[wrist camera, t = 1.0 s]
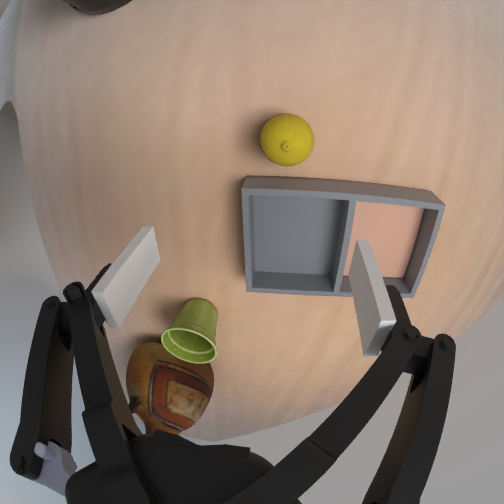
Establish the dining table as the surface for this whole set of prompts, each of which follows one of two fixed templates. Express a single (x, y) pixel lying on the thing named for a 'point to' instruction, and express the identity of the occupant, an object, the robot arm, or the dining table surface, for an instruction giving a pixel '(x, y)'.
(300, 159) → the lemon
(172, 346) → the plant pot
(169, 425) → the ceramic pitcher
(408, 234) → the sorting tray
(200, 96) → the dining table surface
